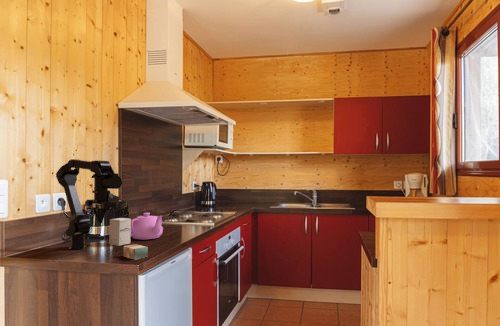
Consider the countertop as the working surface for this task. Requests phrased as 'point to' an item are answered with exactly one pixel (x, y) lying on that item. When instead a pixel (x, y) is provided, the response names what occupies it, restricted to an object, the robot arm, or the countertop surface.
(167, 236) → the countertop surface
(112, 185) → the robot arm
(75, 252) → the countertop surface
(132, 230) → the teapot
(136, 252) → the birch block
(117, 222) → the supplement box
